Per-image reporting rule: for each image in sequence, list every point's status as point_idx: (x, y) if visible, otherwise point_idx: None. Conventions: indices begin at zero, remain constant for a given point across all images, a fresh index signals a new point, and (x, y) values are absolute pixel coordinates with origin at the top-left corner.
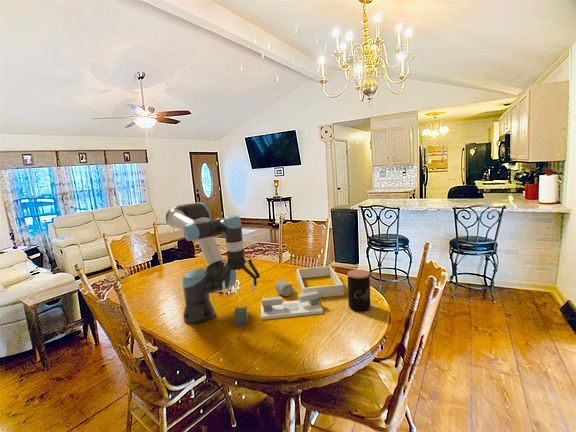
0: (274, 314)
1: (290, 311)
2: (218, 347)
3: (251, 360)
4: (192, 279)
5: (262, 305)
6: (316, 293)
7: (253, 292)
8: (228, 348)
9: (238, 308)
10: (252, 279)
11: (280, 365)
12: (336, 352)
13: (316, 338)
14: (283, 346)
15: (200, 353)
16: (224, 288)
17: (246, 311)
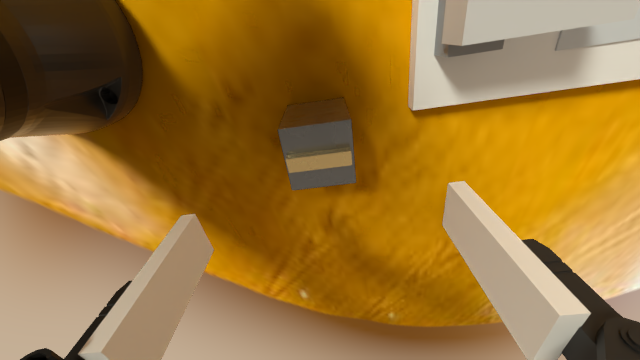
0: (487, 90)
1: (588, 58)
2: (278, 259)
3: (377, 298)
4: None
5: (445, 43)
6: None
7: (449, 231)
8: (309, 264)
9: (308, 170)
10: (545, 348)
11: (441, 310)
12: (587, 284)
13: (574, 236)
14: (463, 262)
15: (239, 277)
16: (181, 313)
17: (355, 179)
